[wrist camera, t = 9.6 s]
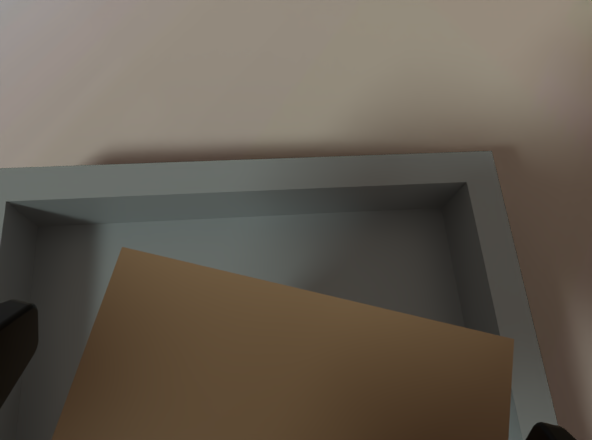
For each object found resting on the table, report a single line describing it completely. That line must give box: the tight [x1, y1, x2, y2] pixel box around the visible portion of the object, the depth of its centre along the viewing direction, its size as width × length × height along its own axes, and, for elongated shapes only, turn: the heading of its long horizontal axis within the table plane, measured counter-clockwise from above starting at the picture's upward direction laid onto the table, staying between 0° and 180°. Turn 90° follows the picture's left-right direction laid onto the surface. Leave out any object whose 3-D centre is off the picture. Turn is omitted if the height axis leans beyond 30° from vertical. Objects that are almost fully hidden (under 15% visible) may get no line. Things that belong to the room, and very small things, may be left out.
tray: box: [0, 151, 558, 440], centre depth 16 cm, size 18×18×4 cm
